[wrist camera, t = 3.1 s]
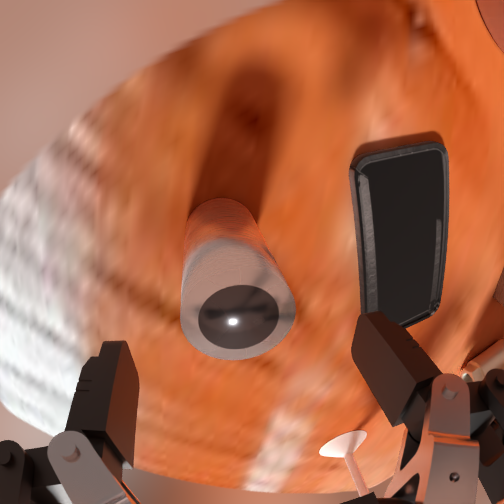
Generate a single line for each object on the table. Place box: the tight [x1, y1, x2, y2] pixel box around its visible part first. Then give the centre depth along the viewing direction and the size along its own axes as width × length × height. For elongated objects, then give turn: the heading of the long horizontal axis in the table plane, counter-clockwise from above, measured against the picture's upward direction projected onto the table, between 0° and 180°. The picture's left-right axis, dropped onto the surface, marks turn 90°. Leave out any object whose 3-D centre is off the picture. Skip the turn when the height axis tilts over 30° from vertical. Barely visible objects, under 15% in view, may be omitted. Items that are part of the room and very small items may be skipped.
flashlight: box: [180, 198, 296, 360], centre depth 14 cm, size 4×4×8 cm
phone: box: [349, 141, 449, 328], centre depth 20 cm, size 8×1×15 cm
